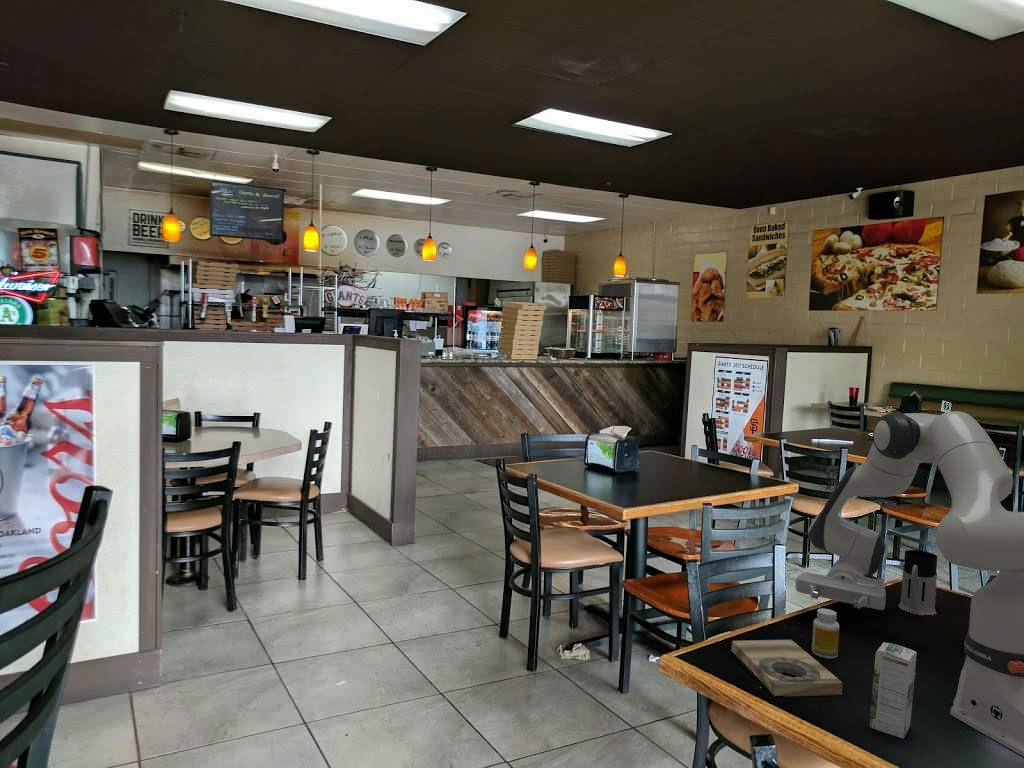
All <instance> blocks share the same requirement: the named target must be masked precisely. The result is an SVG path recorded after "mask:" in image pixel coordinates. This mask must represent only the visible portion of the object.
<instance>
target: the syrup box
mask: <svg viewBox="0 0 1024 768" xmlns="http://www.w3.org/2000/svg"><path fill="white" fill-rule="evenodd" d="M917 654H918V652H916V650H913V649H911V648H908V647H905V646H902V645H899V644H894V643H891V642H882V643H881V646H879V648H878V649H877V650H876V651H875V656H874V668H873V679H872V680H873V681H872V691H871V702H870V703H871V704H870V714H869V728H871V729H873V730H876V731H877V732H882V733H884V734H888V735H890V736H894V737H897V738H900V739H903V740H904V739H905V737H906V736H907V734H908V731H909V729H910V727H911V724H912V723H911V721H912V712H913V700H914V690H915V689H914V688H915V678H916V664H917V656H918V655H917Z"/></svg>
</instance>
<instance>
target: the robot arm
mask: <svg viewBox="0 0 1024 768" xmlns="http://www.w3.org/2000/svg"><path fill="white" fill-rule="evenodd" d="M872 440H873V442H872V444H871V447H870V449H869V452H868V454H867V457H866V459H865V460H864V462H862V463H861V464H860V465H859V466H851V467H850V468H848V469H847V471H846V472H845V473H844V474H843V476H842V477H841V479H840V480H839V482H837V485H836V486H835V488H834V489H833V491H832V493H831V494H830V496H829V497H828V499H827V501H826V502H825V503H824V506H823V508H822V510H821V511H820V512H819V513H818V514H817V515H816V516H815V517H814V519H813V520H812V521H811V523H810V524H809V527H808V532H807V533H808V534H807V535H808V536H807V537H808V539H809V541H810V542H811V544H812V545H813V547H814V548H815V549H819V550H822V551H824V552H829V553H830V554H832V555H835V556H837V557H839V558H838V559H837V560H836V561H835V562H834V564H833V565H832V567H831V568H830V569H829V570H828V572H827V574H826V575H823V574H818V573H815V572H814V573H813V572H802V573H800V574H799V575H798V576H797V577H796V580H795V591H796V592H798V593H801V594H806V595H810V599H816V600H818V599H819V598H822V599H828V600H833V601H837V602H840V603H845V604H851V605H853V608H855V609H861V608H869V609H873V610H874V609H875V610H879V611H883V610H885V607H886V597H887V591H886V588H885V586H884V583H883V579H882V578H880V577H877V576H874V574H876V573H877V572H878V570H879V569H880V566H881V564H882V561H883V559H884V556H885V552H886V543H885V540H884V538H883V536H882V535H881V533H880V532H877V531H875V530H872V529H870V528H868V527H865V526H863V525H860V524H857V523H854V522H853V521H850V520H847V519H844V518H843V517H841V516H840V512H841V510H843V507H844V506H845V504H846V503H847V502H848V500H849V499H850V498H854V497H860V496H861V497H862V496H865V497H874V498H889V497H895V496H897V495H900V494H902V493H904V492H905V491H907V490H908V488H909V487H910V485H912V483H913V481H914V478H915V476H916V473H917V471H918V468H919V465H920V462H921V463H922V462H923V463H925V464H929V463H930V464H936V465H937V467H938V469H939V471H940V473H941V475H942V477H943V479H944V483H945V484H946V487H947V490H948V491H949V494H950V499H951V507H950V510H949V512H948V513H947V514H946V515H944V516H943V517H942V519H941V520H940V522H939V523H938V525H937V528H936V531H935V541H936V546H937V548H938V550H939V552H940V554H941V555H942V556H943V558H945V559H946V561H947V562H949V563H950V564H952V565H955V566H960V567H962V568H963V567H964V568H967V569H973V570H977V571H998V573H997V574H996V575H995V577H994V578H993V579H992V580H991V581H990V582H988V583H987V584H985V585H983V586H981V587H979V588H978V589H977V590H975V592H974V593H973V595H972V596H971V599H970V609H969V610H970V611H969V623H968V624H969V625H968V631H967V632H966V634H965V640H964V642H963V643H964V653H965V656H966V657H965V661H964V664H963V667H962V669H961V672H960V675H959V676H960V677H959V680H958V686H957V690H956V695H955V697H954V699H953V702H952V703H953V705H952V706H951V708H950V712H949V714H950V715H951V716H952V717H954V718H956V719H957V720H959V721H961V722H963V723H965V724H966V725H967V726H970V727H971V728H973V729H975V730H977V731H978V732H980V733H982V734H984V735H985V736H987V737H989V738H991V739H992V740H993V741H996V742H997V743H999V744H1001V745H1003V746H1004V747H1006V748H1008V749H1009V750H1012V751H1013V752H1015V753H1016V754H1019V755H1020V756H1022V757H1024V511H1010V510H1007V509H1006V508H1005V507H1003V505H1002V504H1001V502H1003V501H1004V500H1005V499H1006V498H1007V497H1008V496H1009V495H1010V494H1011V492H1012V490H1013V487H1014V478H1013V477H1014V476H1013V474H1012V473H1011V471H1010V469H1009V467H1008V465H1007V464H1006V462H1005V461H1004V458H1003V457H1002V455H1001V453H1000V452H999V449H998V448H997V446H996V444H995V443H994V442H993V440H992V439H991V437H990V436H989V434H988V433H987V431H985V429H984V428H983V427H982V425H980V423H979V422H978V421H977V420H976V419H975V418H974V417H973V416H971V415H970V414H969V413H966V412H964V411H958V410H955V411H954V410H953V411H948V412H944V413H941V414H932V413H931V414H930V413H927V412H926V413H925V412H912V413H907V412H906V413H902V412H891V413H886V414H883V415H882V416H880V417H879V418H878V419H877V421H876V422H875V424H874V427H873V431H872Z"/></svg>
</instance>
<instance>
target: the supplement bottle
mask: <svg viewBox="0 0 1024 768" xmlns="http://www.w3.org/2000/svg"><path fill="white" fill-rule="evenodd" d="M816 612H817V613H816V616H817V617H816V618H815V619H813V623H812V638H811V639H812V640H811V642H812V643H811V651H812V654H813V655H815V656H818V657H820V658H822V657H823V658H822V659H835V658H837V657H838V655H839V642H840V641H839V640H840V639H839V638H840V624H839V622H838V621H837V618H838V617H837V616H838V614H837V613H838V612H836V611H834V610H833V609H829V608H818V609H817V610H816Z"/></svg>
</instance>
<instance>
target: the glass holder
mask: <svg viewBox="0 0 1024 768" xmlns="http://www.w3.org/2000/svg"><path fill="white" fill-rule="evenodd" d="M903 560H904V562H903V567H902V576H901V577H902V578H901V592H900V593H901V595H900V602H899V604H898V608H899V609H900V610H902V611H904V610H905V611H904V612H906V611H907V613H909V612H910V614H914V615H917V614H918V616H924V615H932V616H935V615H937V611H936V608H935V607H936V593H937V592H936V591H937V580H938V579H937V577H938V573H937V565H938V555H937V554H935V553H932V552H931V551H930V552H929V551H925V550H920V549H907V550H904V559H903ZM934 614H935V615H934Z"/></svg>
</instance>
